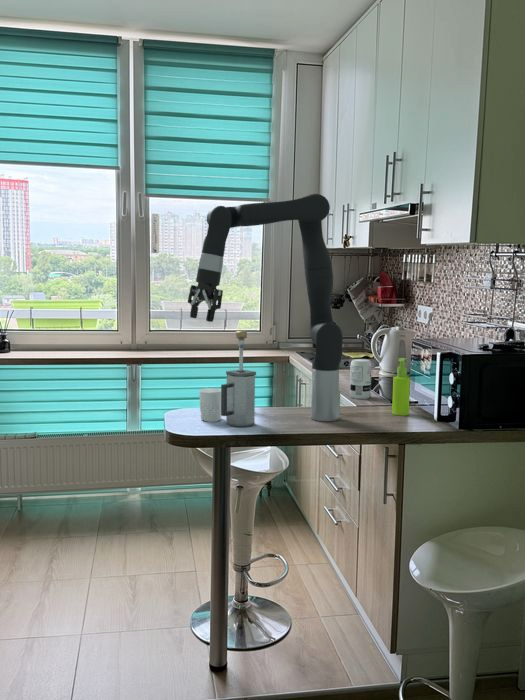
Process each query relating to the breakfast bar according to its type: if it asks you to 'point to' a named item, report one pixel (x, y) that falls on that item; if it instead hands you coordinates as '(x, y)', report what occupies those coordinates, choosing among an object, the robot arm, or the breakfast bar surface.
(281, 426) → the breakfast bar surface
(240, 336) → the plunger
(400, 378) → the soap dispenser
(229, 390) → the carafe
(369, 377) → the supplement can
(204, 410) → the white cup
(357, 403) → the breakfast bar surface
